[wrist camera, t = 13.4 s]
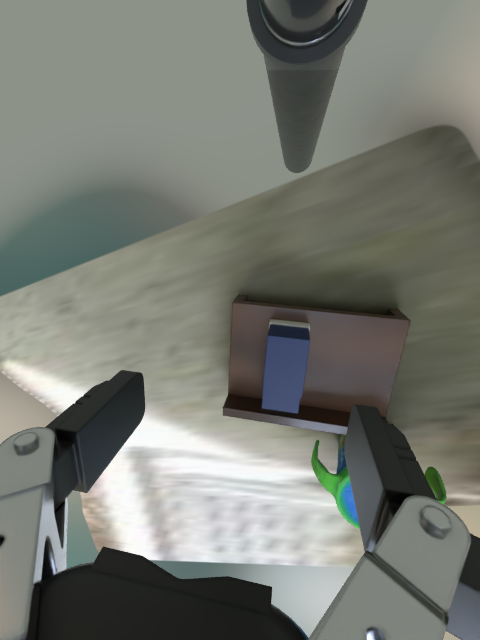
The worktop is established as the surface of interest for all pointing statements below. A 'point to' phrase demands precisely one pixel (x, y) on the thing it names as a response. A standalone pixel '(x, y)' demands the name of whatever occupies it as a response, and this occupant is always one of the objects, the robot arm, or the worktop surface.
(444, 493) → the snack cup
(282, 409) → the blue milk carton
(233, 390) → the wooden display stand
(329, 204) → the worktop surface
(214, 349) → the worktop surface
